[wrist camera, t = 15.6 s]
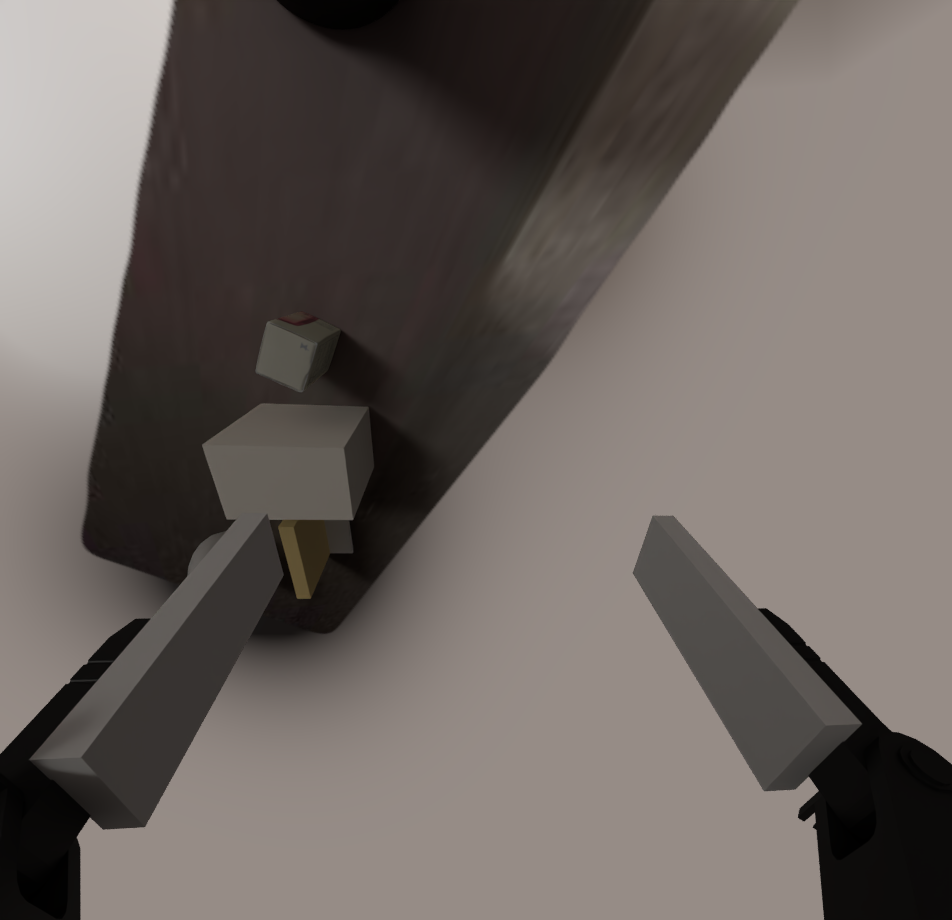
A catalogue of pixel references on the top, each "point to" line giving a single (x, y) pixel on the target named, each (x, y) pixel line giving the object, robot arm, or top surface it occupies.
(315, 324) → the small box
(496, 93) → the top surface
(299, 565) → the yellow rectangular slab
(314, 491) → the large beige block
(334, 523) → the mat
